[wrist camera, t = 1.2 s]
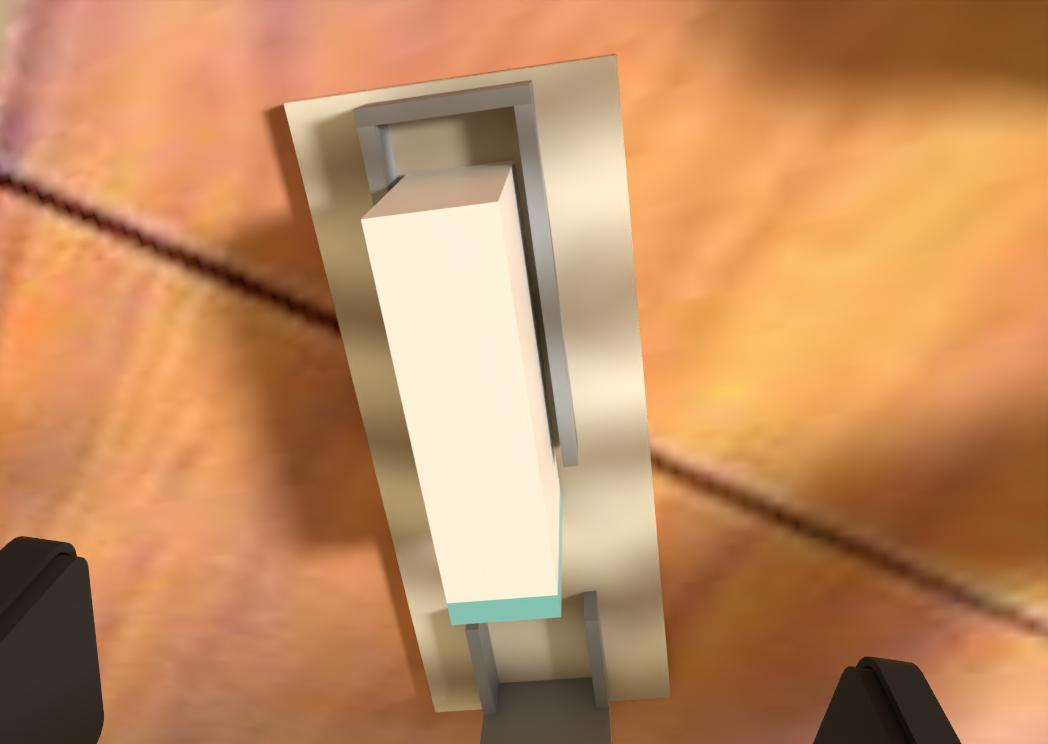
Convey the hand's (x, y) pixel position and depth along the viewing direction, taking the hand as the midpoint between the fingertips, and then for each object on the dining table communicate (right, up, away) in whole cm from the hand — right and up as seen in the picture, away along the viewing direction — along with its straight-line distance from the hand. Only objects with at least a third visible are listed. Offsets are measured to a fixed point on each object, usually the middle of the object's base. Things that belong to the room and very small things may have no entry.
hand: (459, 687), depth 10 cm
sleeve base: (0, +1, +25) cm, 25 cm away
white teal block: (-1, +5, +22) cm, 23 cm away
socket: (+2, -9, +29) cm, 30 cm away
